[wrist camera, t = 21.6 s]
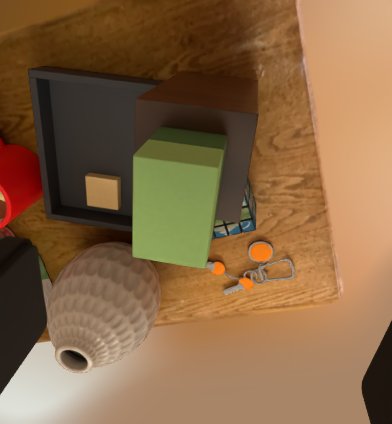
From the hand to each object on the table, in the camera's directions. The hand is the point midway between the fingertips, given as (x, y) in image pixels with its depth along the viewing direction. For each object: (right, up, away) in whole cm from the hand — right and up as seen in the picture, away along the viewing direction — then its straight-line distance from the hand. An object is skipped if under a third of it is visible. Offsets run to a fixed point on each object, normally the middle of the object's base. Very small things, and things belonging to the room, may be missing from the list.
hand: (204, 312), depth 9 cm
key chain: (+6, -5, +38) cm, 39 cm away
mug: (-24, +9, +36) cm, 44 cm away
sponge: (-1, +5, +16) cm, 16 cm away
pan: (-11, +10, +33) cm, 36 cm away
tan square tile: (-11, +6, +35) cm, 37 cm away
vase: (-10, -4, +41) cm, 42 cm away
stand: (+2, +13, +29) cm, 32 cm away
